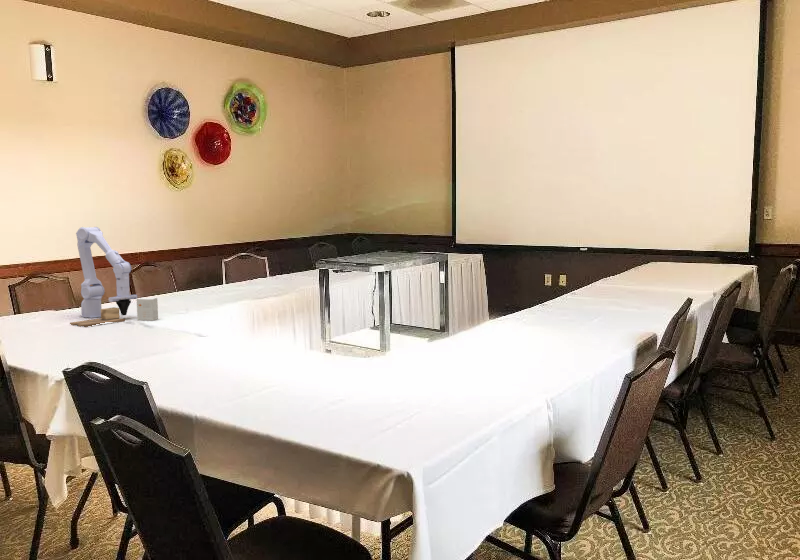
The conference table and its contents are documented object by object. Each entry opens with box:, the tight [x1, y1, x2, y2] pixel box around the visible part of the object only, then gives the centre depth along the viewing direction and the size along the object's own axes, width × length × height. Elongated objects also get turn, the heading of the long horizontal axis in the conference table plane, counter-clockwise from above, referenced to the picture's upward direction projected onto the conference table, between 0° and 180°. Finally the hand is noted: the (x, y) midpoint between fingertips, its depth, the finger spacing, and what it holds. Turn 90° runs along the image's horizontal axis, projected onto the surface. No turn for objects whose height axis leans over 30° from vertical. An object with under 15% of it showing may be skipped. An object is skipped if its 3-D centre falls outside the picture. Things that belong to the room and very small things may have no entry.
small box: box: [136, 297, 159, 322], centre depth 315 cm, size 8×6×10 cm
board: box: [69, 317, 126, 328], centre depth 305 cm, size 12×20×1 cm, turn 149°
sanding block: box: [100, 306, 121, 320], centre depth 310 cm, size 4×7×5 cm, turn 149°
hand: (123, 315), depth 317 cm, fingers closed
